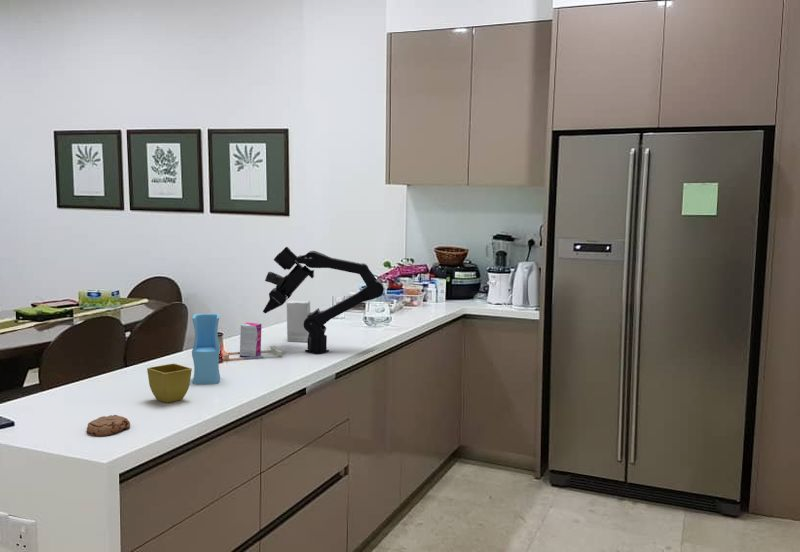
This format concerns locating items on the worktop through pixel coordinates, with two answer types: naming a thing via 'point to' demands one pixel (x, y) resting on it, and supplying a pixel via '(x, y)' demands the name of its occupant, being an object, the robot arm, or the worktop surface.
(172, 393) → the flower pot
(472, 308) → the worktop surface
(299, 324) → the skincare box
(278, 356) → the breaker track
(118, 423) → the cookie
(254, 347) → the supplement box
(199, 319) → the light blue tall piece
